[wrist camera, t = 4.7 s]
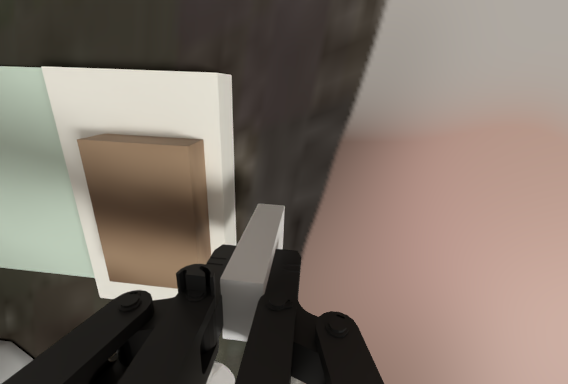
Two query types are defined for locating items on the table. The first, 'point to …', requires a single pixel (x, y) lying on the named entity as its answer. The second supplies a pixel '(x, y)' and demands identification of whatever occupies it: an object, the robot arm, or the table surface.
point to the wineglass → (220, 375)
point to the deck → (146, 122)
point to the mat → (35, 183)
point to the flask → (11, 360)
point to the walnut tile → (148, 205)
